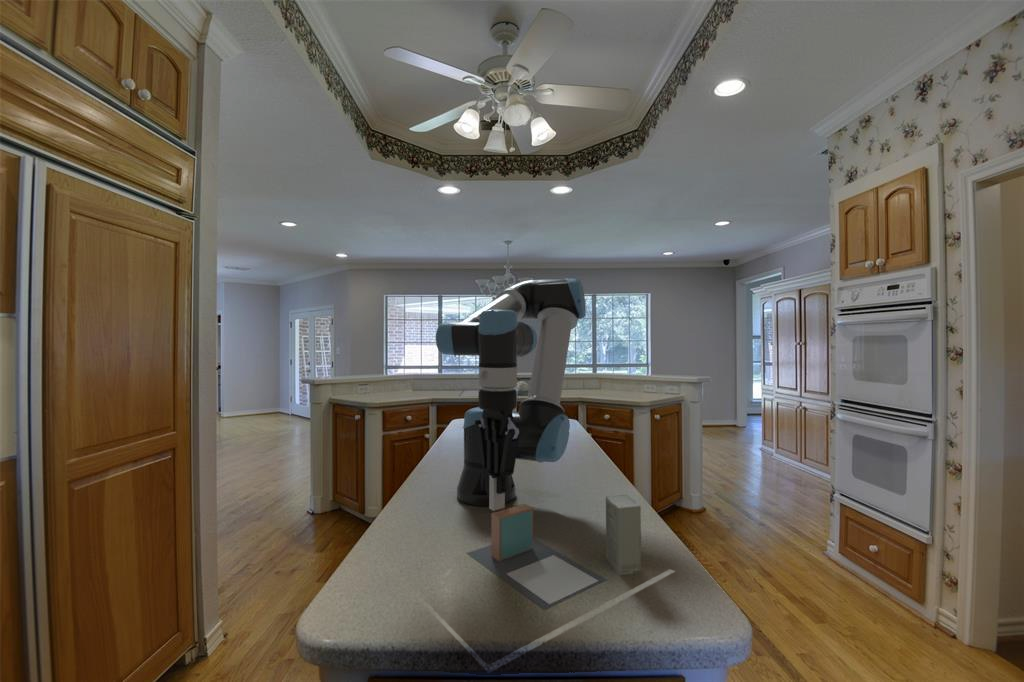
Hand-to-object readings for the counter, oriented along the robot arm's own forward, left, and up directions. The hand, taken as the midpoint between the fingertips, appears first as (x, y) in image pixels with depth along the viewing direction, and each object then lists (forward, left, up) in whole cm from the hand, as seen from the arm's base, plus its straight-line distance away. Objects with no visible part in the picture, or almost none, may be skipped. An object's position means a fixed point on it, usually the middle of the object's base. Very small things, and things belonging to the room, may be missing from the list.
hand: (497, 508), depth 89 cm
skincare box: (+20, +13, -8) cm, 25 cm away
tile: (+5, 0, -7) cm, 9 cm away
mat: (+11, 0, -8) cm, 13 cm away
